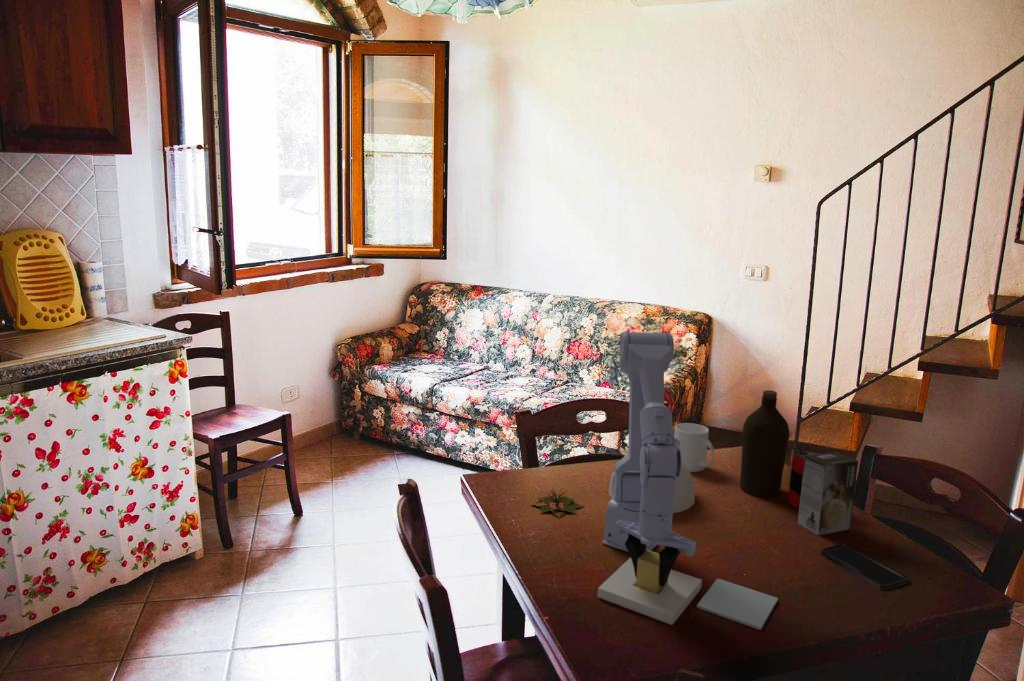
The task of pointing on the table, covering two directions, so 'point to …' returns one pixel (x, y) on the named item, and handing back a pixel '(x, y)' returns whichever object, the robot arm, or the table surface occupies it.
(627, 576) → the pocket holder
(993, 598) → the table surface
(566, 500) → the green leafy plant
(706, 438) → the mug
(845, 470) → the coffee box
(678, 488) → the kettle
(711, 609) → the mat
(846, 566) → the phone
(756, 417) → the olive oil
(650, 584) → the block
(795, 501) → the soda can
